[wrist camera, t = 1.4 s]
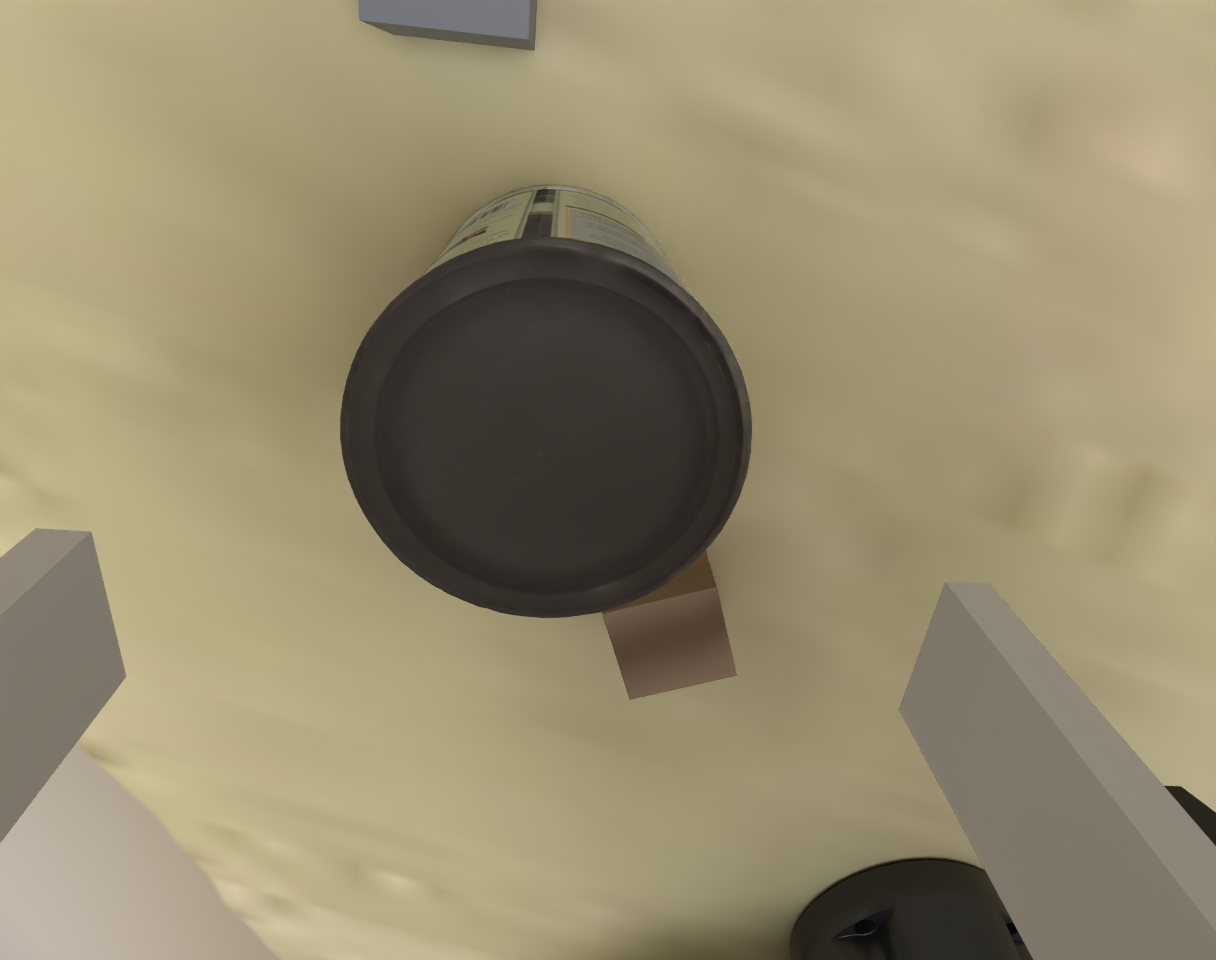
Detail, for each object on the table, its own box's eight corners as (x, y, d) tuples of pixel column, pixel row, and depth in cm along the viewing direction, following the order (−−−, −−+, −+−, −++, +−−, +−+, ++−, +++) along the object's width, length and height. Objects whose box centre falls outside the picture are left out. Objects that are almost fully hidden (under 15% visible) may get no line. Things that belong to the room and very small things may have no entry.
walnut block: (717, 609, 39) (736, 675, 34) (622, 631, 39) (629, 699, 35) (698, 528, 37) (716, 586, 32) (598, 552, 37) (602, 613, 32)
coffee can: (605, 465, 35) (625, 670, 22) (393, 362, 32) (279, 528, 20) (727, 264, 31) (836, 374, 18) (499, 129, 28) (442, 148, 16)
